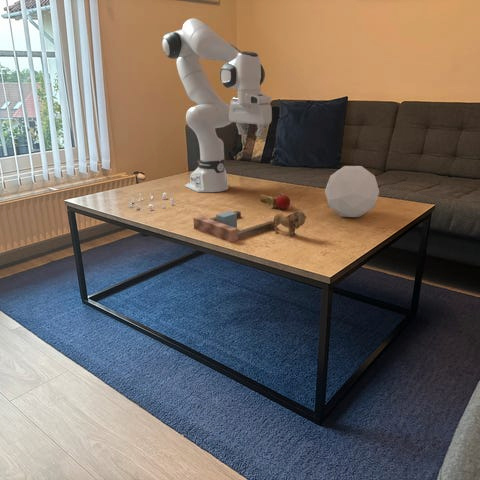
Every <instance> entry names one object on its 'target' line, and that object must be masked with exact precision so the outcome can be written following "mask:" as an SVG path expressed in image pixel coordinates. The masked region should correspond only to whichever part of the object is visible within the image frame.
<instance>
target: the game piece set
mask: <svg viewBox="0 0 480 480" xmlns="http://www.w3.org/2000/svg"><path fill="white" fill-rule="evenodd" d="M138 195H139V198H138V199H137V200H138V202H142V201H141V200H143V201H144V198H142V197H141V196H142V193H139V194H138ZM167 195H168V194H167V192H163V194H162V199H163V200H166V198H167ZM149 196H150V199H151V200H154V196H153V195H152V194H151V193H149ZM129 200H130V203H129V204H128V208H131V209H132V208H133V207H134V206H133V205H134V202H135V201H134V199H133V198H132V197H130V198H129ZM169 202H170V205H174V202H175V201H174V199H173V198H172V197H171V198H170V199H169ZM132 203H133V204H132ZM153 206H154V205H153V204H152V203H149V204H148V209H149V211H153V210H154V209H153ZM161 207H162V209H166V205H165V204H164V203H163V205H162V206H161ZM134 208H135V209H136V210H139V209H141V205H138V204H135V207H134Z"/></svg>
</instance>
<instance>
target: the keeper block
mask: <svg viewBox="0 0 480 480" xmlns="http://www.w3.org/2000/svg"><path fill="white" fill-rule="evenodd" d="M234 212H235V211H230V210H229V211H225V212H221V213H219V214H218V213H217V214H216V215H215V217H216V221H217V222H220V223H223V224H226V225H229V226H232V227H235V228H237V229H238V218H237V213H234Z"/></svg>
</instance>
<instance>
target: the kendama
mask: <svg viewBox="0 0 480 480" xmlns="http://www.w3.org/2000/svg"><path fill="white" fill-rule="evenodd" d="M259 200H260V201H261V202H265V203H266V204H267V207H269V209H273V208H274V209H275V207H276V208H277V209H279V210H282V211H284V210H287V209H289V207H290V205H291V199H290V197H288V195H286V194H284V193H283V192H282V193H279V194H278V196H276V197H273V196H269V195H267V194H260V196H259Z"/></svg>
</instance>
